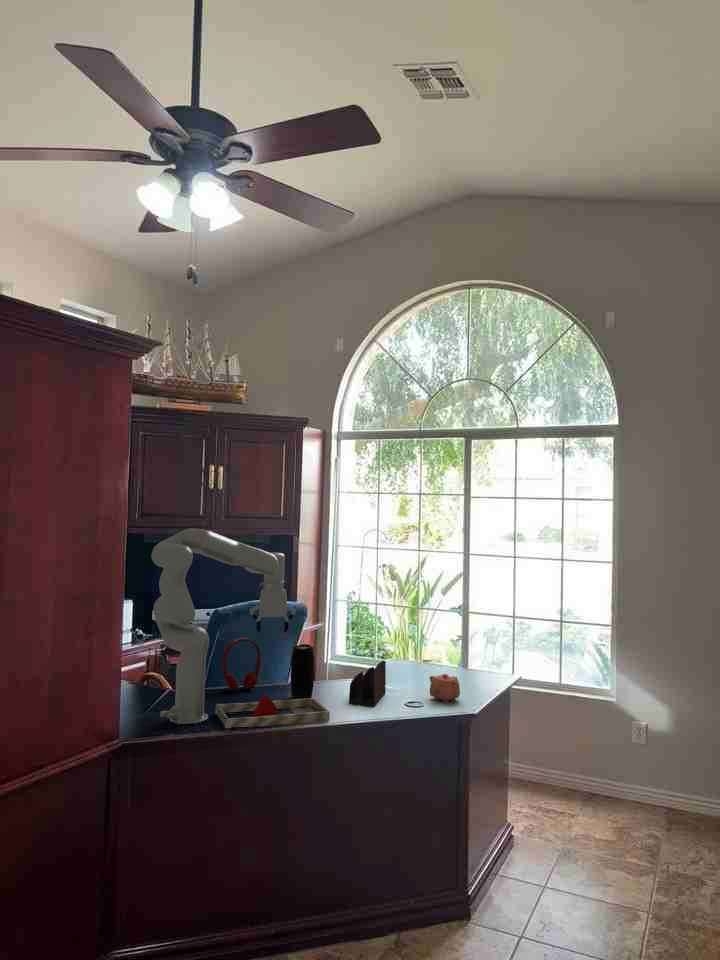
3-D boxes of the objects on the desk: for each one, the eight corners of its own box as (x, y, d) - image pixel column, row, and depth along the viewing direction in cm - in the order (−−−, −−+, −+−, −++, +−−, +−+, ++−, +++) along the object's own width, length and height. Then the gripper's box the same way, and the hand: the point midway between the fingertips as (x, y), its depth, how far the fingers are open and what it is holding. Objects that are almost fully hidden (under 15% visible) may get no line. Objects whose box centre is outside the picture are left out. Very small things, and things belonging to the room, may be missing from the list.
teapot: (429, 703, 279) (430, 677, 279) (428, 695, 291) (429, 670, 291) (461, 705, 278) (461, 679, 278) (458, 696, 290) (459, 671, 290)
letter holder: (385, 694, 291) (386, 657, 291) (374, 707, 271) (375, 669, 272) (360, 691, 293) (362, 655, 293) (348, 705, 274) (349, 666, 274)
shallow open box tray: (225, 729, 241) (226, 718, 241) (215, 713, 257) (215, 703, 257) (329, 720, 254) (329, 709, 254) (313, 706, 270) (313, 696, 270)
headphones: (224, 694, 283) (226, 641, 283) (219, 689, 289) (221, 638, 289) (261, 690, 289) (263, 639, 290) (255, 686, 296) (257, 635, 296)
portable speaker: (287, 700, 277) (288, 647, 278) (294, 693, 286) (296, 642, 287) (309, 702, 275) (310, 649, 276) (316, 695, 284) (317, 644, 285)
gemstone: (256, 722, 245) (280, 705, 251) (240, 705, 250) (264, 688, 256) (257, 737, 251) (280, 720, 256) (241, 721, 255) (265, 704, 261)
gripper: (250, 586, 271) (248, 633, 271) (297, 587, 274) (296, 634, 274) (250, 584, 279) (248, 630, 279) (296, 585, 281) (295, 630, 281)
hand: (272, 632), depth 276 cm, fingers open, 9 cm apart
